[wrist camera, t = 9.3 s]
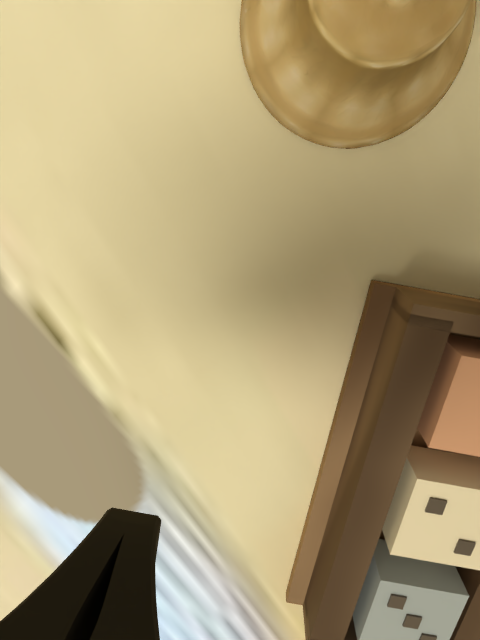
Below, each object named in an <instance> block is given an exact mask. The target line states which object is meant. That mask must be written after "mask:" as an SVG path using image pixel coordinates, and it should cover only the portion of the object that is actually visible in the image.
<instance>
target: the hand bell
mask: <svg viewBox="0 0 480 640" xmlns="http://www.w3.org/2000/svg"><path fill="white" fill-rule="evenodd" d="M475 9H476V0H242V4H241V14H240V38H241V47H242V54H243V58H244V63H245V66H246V69H247V72H248V75H249V77H250V80H251V82H252V85H253V87H254V89H255V91H256V93H257V95H258V97H259V98H260V100H261V101H262V103H263V104H264V105H265V107H266V108H267V109H268V111H269V112H270V113H271V114H272V115H273V116H274V117H275V118H276V119H277V120H278V121H279V122H280V123H281V124H282V125H283V126H285V127H286V128H287V129H289V130H290V131H291V132H293V133H294V134H296V135H298V136H300V137H302V138H304V139H306V140H309V141H311V142H314V143H317V144H320V145H323V146H328V147H338V148H346V149H349V148H358V147H364V146H370V145H374V144H377V143H380V142H383V141H386V140H388V139H391V138H393V137H395V136H397V135H399V134H401V133H403V132H405V131H406V130H408V129H410V128H411V127H412V126H414V125H415V124H416V123H418V122H419V121H420V120H421V119H422V118H424V117H425V116H426V115H427V114H428V113H429V112H430V111H431V110H432V109H433V108H434V107H435V106H436V105H437V103H438V102H439V101H440V100H441V99H442V97H443V96H444V95H445V93H446V92H447V91H448V89H449V88H450V86H451V84H452V83H453V81H454V79H455V77H456V76H457V74H458V72H459V70H460V68H461V66H462V64H463V61H464V59H465V57H466V54H467V51H468V47H469V44H470V41H471V36H472V32H473V27H474V19H475Z"/></svg>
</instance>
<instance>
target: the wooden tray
mask: <svg viewBox="0 0 480 640" xmlns="http://www.w3.org/2000/svg"><path fill="white" fill-rule="evenodd" d="M449 334H451V335H456V336H462V337H467V338H473V339H478V340H480V299H475V298H469V297H464V296H458V295H453V294H447V293H442V292H436V291H430V290H425V289H419V288H414V287H408V286H403V285H397V284H392V283H386V282H381V281H375V280H371V283H370V287H369V291H368V294H367V298H366V302H365V305H364V309H363V313H362V316H361V320H360V324H359V327H358V331H357V335H356V338H355V342H354V346H353V349H352V353H351V357H350V360H349V364H348V367H347V371H346V375H345V378H344V382H343V386H342V389H341V393H340V397H339V400H338V404H337V408H336V411H335V415H334V419H333V422H332V426H331V430H330V433H329V437H328V441H327V444H326V448H325V452H324V455H323V459H322V463H321V466H320V470H319V474H318V477H317V481H316V485H315V488H314V492H313V495H312V499H311V503H310V506H309V510H308V514H307V517H306V521H305V525H304V528H303V532H302V536H301V539H300V543H299V547H298V550H297V554H296V558H295V561H294V565H293V569H292V572H291V576H290V580H289V583H288V587H287V591H286V602H288V603H293V604H299V605H303V613H304V625H305V637H306V640H357V636H356V631H355V626H354V621H353V612H354V610H355V607H356V604H357V601H358V598H359V595H360V592H361V589H362V586H363V583H364V581H365V578H366V575H367V572H368V569H369V566H370V563H371V560H372V557H373V554H374V552H375V549H376V546H377V543H378V540H379V539H383V540H385V537H384V534H383V531H382V528H383V525H384V523H385V520H386V517H387V514H388V511H389V508H390V505H391V502H392V499H393V496H394V494H395V491H396V488H397V485H398V482H399V479H400V476H401V473H402V470H403V467H404V465H405V462H406V459H407V456H408V453H409V450H410V447H411V445H412V446H418V447H424V448H428V446H427V444H426V442H425V441H424V439H423V437H422V435H421V434H420V432H419V430H418V429H417V427H418V424H419V421H420V418H421V415H422V412H423V409H424V407H425V404H426V401H427V398H428V395H429V392H430V389H431V386H432V383H433V380H434V378H435V375H436V372H437V369H438V366H439V363H440V360H441V357H442V354H443V351H444V349H445V346H446V343H447V340H448V337H449ZM429 449H433V448H429ZM435 450H439V449H435ZM440 451H444V450H440ZM446 452H450V451H446ZM451 453H456V452H451ZM457 454H461V453H457ZM463 455H467V454H463ZM468 456H472V455H468ZM474 457H478V456H474ZM479 458H480V457H479ZM455 567H456V569H457V571H458V573H459V575H460V577H461V580H462V582H463V584H464V586H465V588H466V590H467V592H468V594H469V598H468V600H467V602H466V604H465V607H464V609H463V611H462V613H461V616H460V618H459V620H458V622H457V624H456V627H455V629H454V631H453V633H452V635H451V638H450V640H480V570H475V569H469V568H463V567H458V566H455Z"/></svg>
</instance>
